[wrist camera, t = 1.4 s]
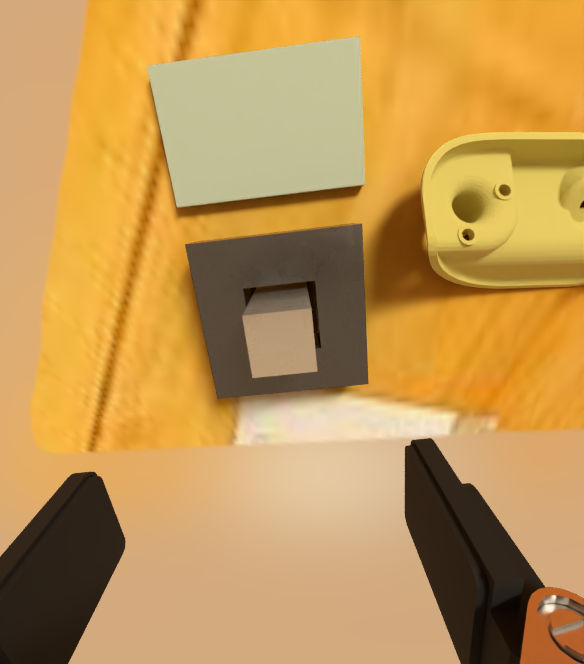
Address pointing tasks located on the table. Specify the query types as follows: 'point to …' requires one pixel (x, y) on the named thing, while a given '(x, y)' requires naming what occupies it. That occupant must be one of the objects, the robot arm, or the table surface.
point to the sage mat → (262, 122)
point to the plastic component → (506, 209)
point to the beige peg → (280, 331)
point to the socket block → (274, 269)
